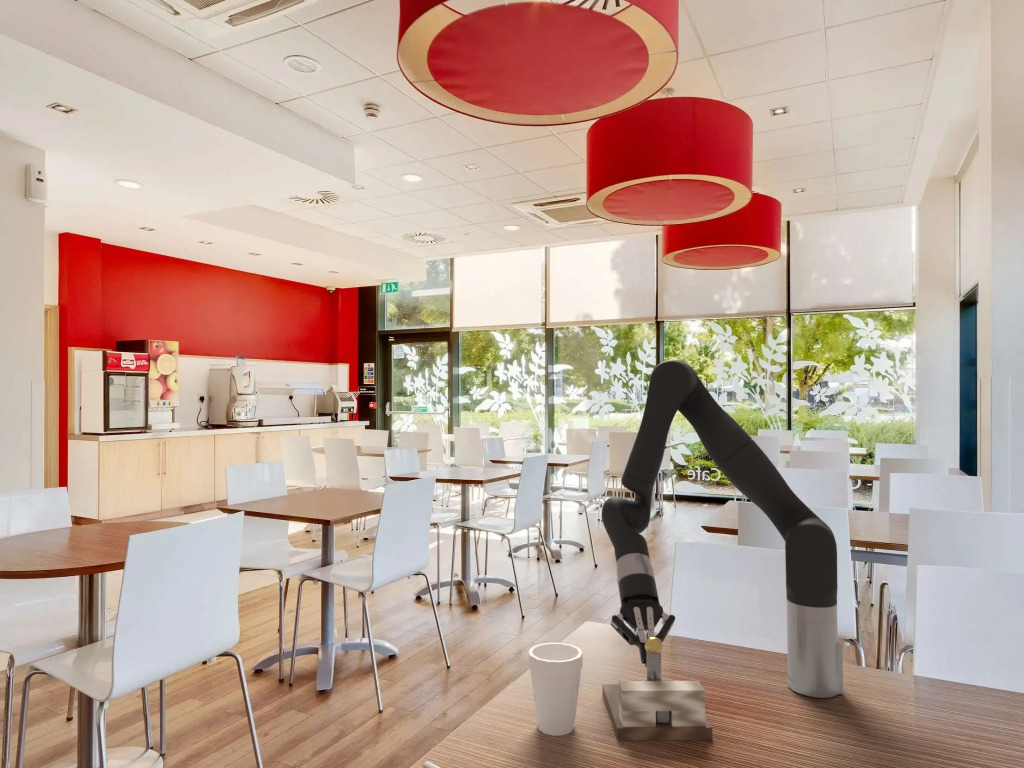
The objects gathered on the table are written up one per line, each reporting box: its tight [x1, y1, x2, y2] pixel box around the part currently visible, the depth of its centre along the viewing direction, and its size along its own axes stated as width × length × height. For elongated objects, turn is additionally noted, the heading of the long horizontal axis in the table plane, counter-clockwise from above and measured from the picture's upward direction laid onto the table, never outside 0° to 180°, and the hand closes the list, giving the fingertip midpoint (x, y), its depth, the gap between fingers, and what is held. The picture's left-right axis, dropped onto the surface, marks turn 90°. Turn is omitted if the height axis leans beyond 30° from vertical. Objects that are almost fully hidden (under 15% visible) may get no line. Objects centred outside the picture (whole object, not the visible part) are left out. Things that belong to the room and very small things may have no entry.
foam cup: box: [528, 642, 584, 737], centre depth 119 cm, size 10×9×13 cm
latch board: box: [601, 680, 713, 741], centre depth 123 cm, size 16×18×8 cm
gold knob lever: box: [645, 636, 669, 723], centre depth 120 cm, size 3×9×12 cm, turn 0°
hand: (650, 665), depth 126 cm, fingers closed
